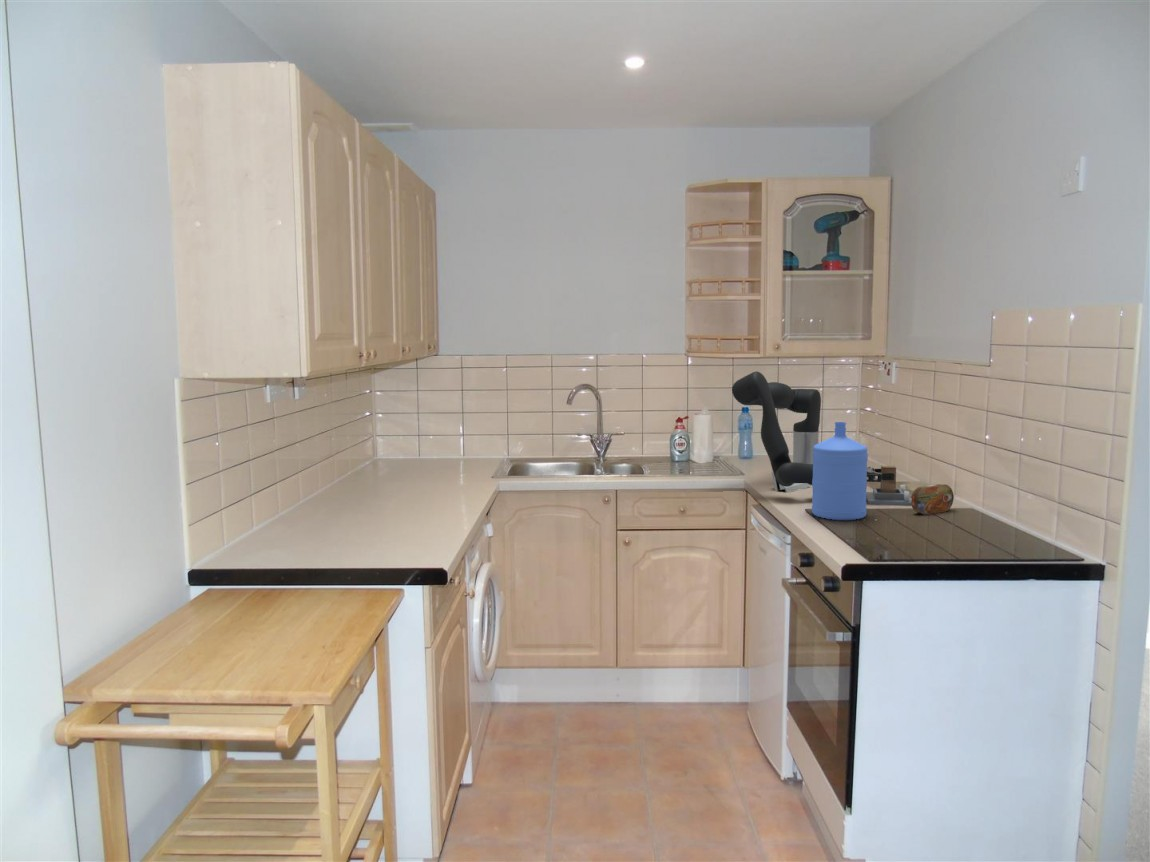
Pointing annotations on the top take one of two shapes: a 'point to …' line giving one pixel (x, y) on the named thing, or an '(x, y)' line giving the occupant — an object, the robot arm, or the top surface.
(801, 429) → the robot arm
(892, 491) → the block
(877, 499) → the seat board
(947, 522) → the top surface
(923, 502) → the tin
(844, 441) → the water jug
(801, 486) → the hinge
